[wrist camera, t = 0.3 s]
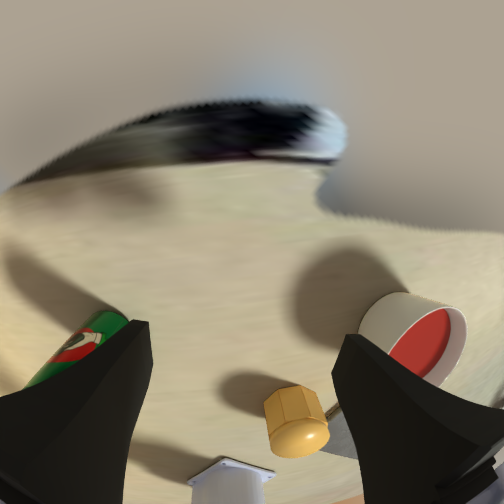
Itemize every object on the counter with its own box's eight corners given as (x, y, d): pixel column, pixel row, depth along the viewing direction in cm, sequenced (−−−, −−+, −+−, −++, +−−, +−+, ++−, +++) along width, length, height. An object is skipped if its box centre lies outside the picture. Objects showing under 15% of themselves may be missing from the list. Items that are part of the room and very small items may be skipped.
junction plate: (374, 459, 27) (383, 477, 23) (298, 439, 24) (306, 466, 20) (431, 409, 26) (445, 426, 22) (372, 374, 23) (390, 399, 19)
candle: (329, 317, 21) (361, 360, 15) (413, 259, 20) (462, 281, 14) (362, 381, 23) (389, 423, 17) (432, 331, 22) (469, 360, 16)
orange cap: (291, 426, 24) (300, 462, 19) (253, 410, 23) (258, 449, 18) (325, 397, 23) (341, 433, 18) (288, 379, 22) (300, 417, 17)
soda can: (82, 334, 20) (10, 419, 8) (103, 295, 19) (14, 382, 8) (126, 368, 21) (77, 470, 9) (152, 334, 20) (98, 448, 9)
